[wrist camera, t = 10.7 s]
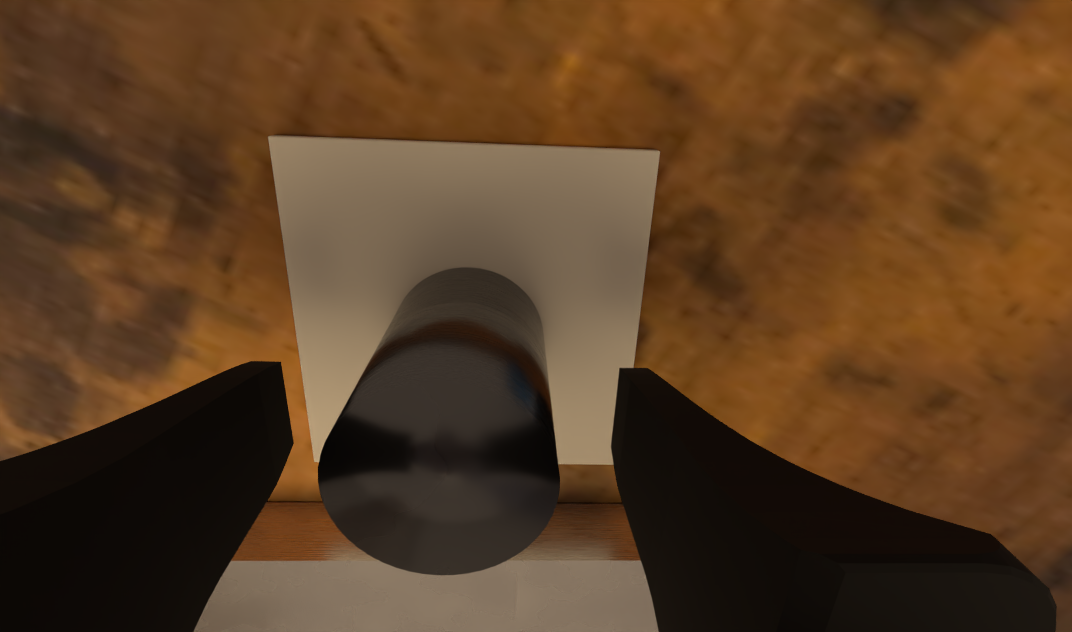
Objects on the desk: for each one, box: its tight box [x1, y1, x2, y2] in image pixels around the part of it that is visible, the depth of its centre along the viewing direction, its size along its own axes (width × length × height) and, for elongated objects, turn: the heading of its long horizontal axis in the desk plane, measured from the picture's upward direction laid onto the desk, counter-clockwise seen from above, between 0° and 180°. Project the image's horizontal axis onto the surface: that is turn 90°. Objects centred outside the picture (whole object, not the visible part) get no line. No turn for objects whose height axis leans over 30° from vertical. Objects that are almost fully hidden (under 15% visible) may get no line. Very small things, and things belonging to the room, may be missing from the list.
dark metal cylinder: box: [318, 267, 560, 575], centre depth 13 cm, size 4×4×6 cm
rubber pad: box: [268, 135, 660, 465], centre depth 16 cm, size 10×10×1 cm
